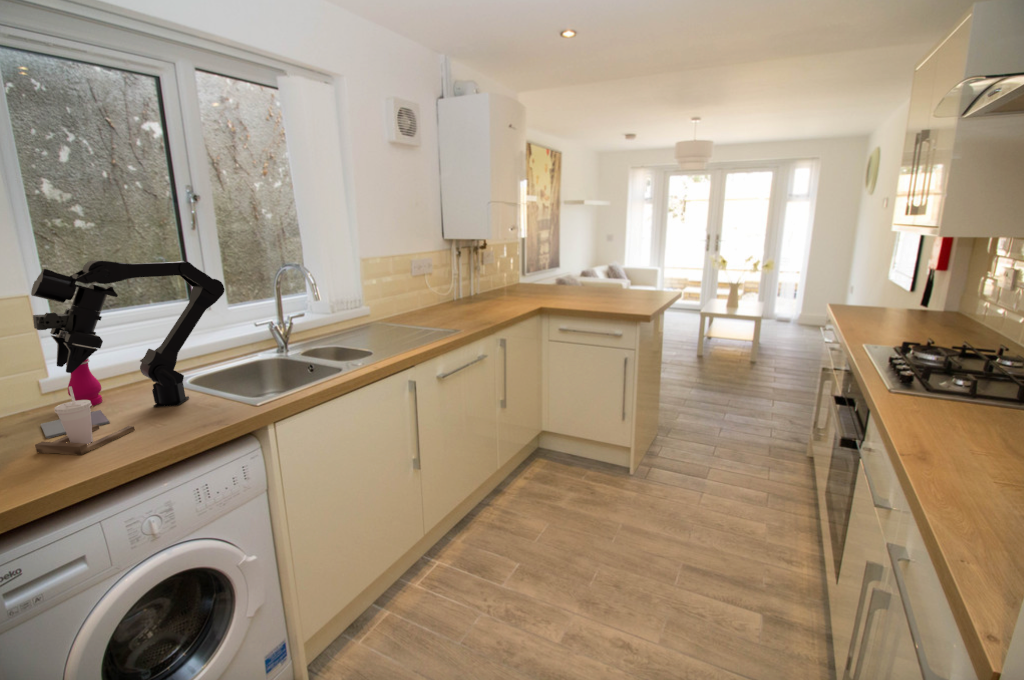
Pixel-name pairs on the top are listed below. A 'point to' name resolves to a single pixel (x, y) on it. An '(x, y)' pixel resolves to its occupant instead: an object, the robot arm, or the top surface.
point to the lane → (78, 448)
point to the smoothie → (76, 419)
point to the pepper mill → (85, 384)
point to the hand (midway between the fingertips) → (63, 369)
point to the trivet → (57, 428)
